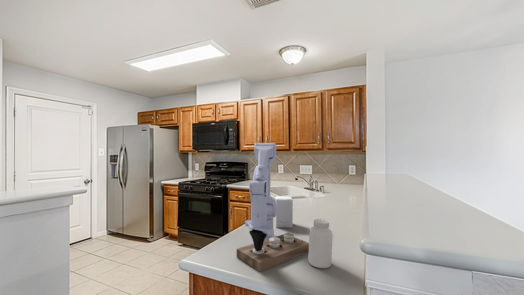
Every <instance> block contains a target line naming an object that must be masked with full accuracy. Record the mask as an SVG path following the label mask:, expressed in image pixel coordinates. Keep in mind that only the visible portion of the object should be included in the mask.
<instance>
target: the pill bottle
mask: <svg viewBox="0 0 524 295" xmlns="http://www.w3.org/2000/svg"><path fill="white" fill-rule="evenodd" d="M333 236H334V235H333V231H332V230H331V228H330V222H329V221H328V220H327V219H322V218H316V219H314V220H313V226H312V227H311V228H310V229H309V236H308V237H309V238H308V243H309V252H308V261H307V262H308V263H309V265H311V266H313V267H315V268H317V269H328V268H330V267H331V266H332V259H333V258H332V257H333V256H332V255H333V238H334V237H333Z"/></svg>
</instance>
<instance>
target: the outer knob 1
mask: <svg viewBox="0 0 524 295" xmlns="http://www.w3.org/2000/svg"><path fill="white" fill-rule="evenodd" d="M253 254H255V255H257V256H258V255H261V254H264V249H263V248H262V250H260V251H256V250H255V248H254V249H253Z"/></svg>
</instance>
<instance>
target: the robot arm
mask: <svg viewBox="0 0 524 295" xmlns="http://www.w3.org/2000/svg"><path fill="white" fill-rule="evenodd" d="M253 154H254V156H255V159H256V161H257V165H256V166H255V167H254V170H253V176H252V181H250V182H249V189H248V190H249V197H250V198H249V201H250V219H248V220H245V222H244V226H245V227H248V229H249V230H248V231H249V232H248V233H249V234H250V237H251V240H252V242H253V243H252V244H254V247H255V250H256V251H260V250H262V247H263V243H264V240H267V239H269V238H273V237H276V236H277V235H276V234H275V230H274V218H275V216H276V201H275V198H274V197H273V196H271V178H272V177H271V174H272V172H271V171H272V170H271V166H272V163H273V162H274V161H276V160H277V144H276V142H255V143H254V145H253Z"/></svg>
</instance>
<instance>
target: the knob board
mask: <svg viewBox="0 0 524 295" xmlns="http://www.w3.org/2000/svg"><path fill="white" fill-rule="evenodd" d="M284 234H285V233H283V234H280V235H276V238H279V239H280V248H278V249H275V250H274V249H272V248H270V247H269V239H267V240H264V243H263V247H262V248H263V249H264V254H261V255H258V256H257V255H255V254H253V249H254V248H255V247H254V243H251V244H248V245H244V246H242V247H238V248H236V258H237V259H238V260H241V261H243V262H244V263H246V264H247V265H249V267H252V268H253V269H255V270H257V271H258V272H259V273H260V272H263V271H266V270H267V269H270V268H273V267H275V266H277V265H281V264H282V263H284V262H287V261H289V260H292V259H294V258H296V257H299V256H301V255H304V254H306V253H309V241H305V240H303V239H300V238H297V237H295V236H294V243H292V244H287V243H284V237H283V235H284Z"/></svg>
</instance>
